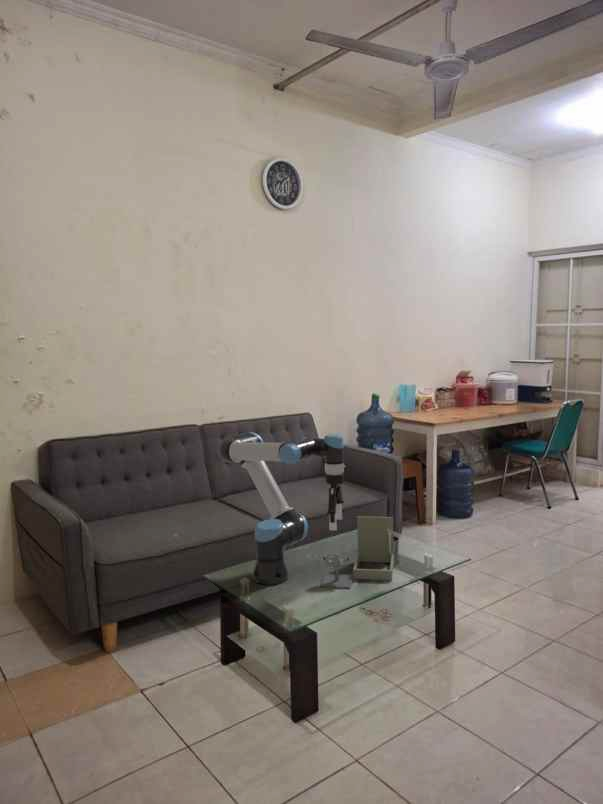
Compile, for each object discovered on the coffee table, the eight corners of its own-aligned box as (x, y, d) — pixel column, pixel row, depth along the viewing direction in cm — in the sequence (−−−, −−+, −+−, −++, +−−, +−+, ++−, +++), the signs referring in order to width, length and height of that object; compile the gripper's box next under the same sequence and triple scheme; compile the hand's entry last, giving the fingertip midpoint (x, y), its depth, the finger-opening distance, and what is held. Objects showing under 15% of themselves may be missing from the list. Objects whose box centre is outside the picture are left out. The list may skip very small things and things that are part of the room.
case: (353, 578, 241) (352, 531, 239) (358, 560, 261) (357, 516, 259) (391, 580, 238) (391, 532, 236) (393, 561, 258) (393, 517, 256)
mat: (320, 587, 234) (320, 585, 234) (324, 575, 246) (324, 573, 246) (350, 588, 232) (350, 587, 231) (353, 576, 243) (353, 575, 243)
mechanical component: (348, 582, 236) (348, 557, 235) (323, 580, 238) (323, 556, 237) (349, 579, 239) (349, 555, 238) (325, 578, 241) (324, 554, 240)
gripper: (338, 481, 223) (340, 535, 225) (348, 466, 247) (349, 515, 249) (319, 480, 224) (320, 534, 227) (330, 466, 248) (332, 514, 251)
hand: (335, 524), depth 238 cm, fingers open, 13 cm apart
